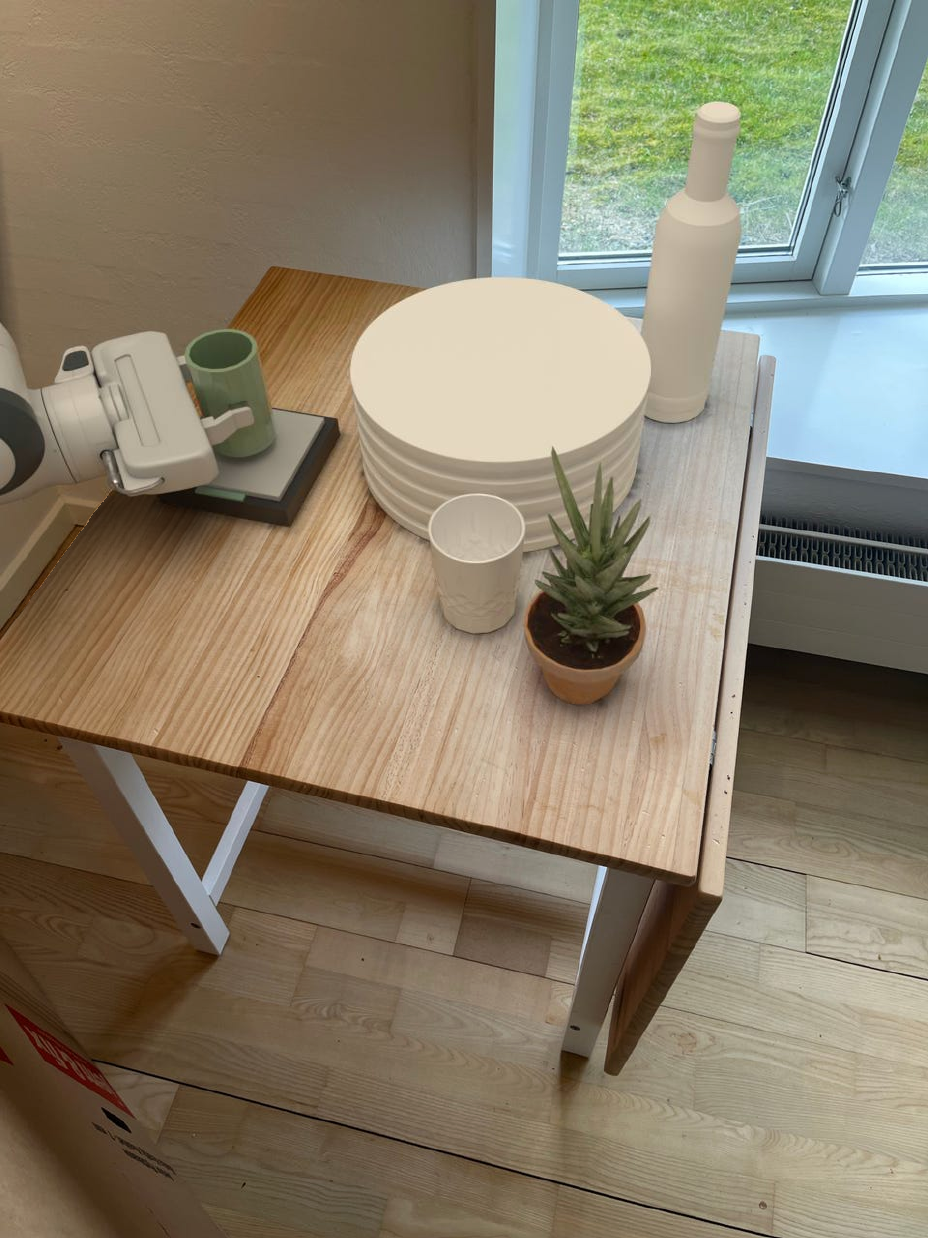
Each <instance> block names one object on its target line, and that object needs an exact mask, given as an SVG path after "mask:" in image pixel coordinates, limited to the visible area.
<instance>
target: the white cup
mask: <svg viewBox="0 0 928 1238" xmlns="http://www.w3.org/2000/svg"><path fill="white" fill-rule="evenodd" d="M428 533H429V540H430V541H429V540H428V541H429V546H430V554H431V559H432V568H433V573H434V579H435V585H436V590H437V594H438V598H439V605H440V609H441V612H442V615H443V617H444V619H445V620H446V621H447V622H448V623H449V624H450V625H452V626H453V627H454V628H455V629H457V630H458V631H462V632H467V633H470V634H484V633H485V634H488V633H491V632H494V631H496V630H497V629H500V628H502V627H505V625H506V624H507V623H508V622H509V621H510V620H511V618H512V617H513V616H514V615H515V610H516V605H517V596H518V591H519V590H520V589H519V588H520V581H521V580H520V579H521V572H522V566H523V555H524V552H523V545H524V535H525V523H524V519H523V517H522V515H521V513H520V512H519V510H518V509H517V508H516V507H515V506H514V505H512V504H511V503H510V502H508V501H506V500H505V499H502V498H500V497H497V496H494V495H489V494H480V493H475V494H466V495H461V496H458V497H455V498H452V499H450V500H448V501H446V502H445V503H443V504H442V505H441V506H439V507H438V508H437V509H436V511H435V512H434V513H433V515H432V516H431V518H430V521H429V525H428Z"/></svg>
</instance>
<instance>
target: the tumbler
mask: <svg viewBox="0 0 928 1238" xmlns="http://www.w3.org/2000/svg"><path fill="white" fill-rule="evenodd" d="M184 357H185V361H186V364H187V367H188V371H189V374H190V377H191V384H192V387H193V390H194V394H195V397H196V400H197V404H198V407H199V411H200V415H201V417H203V418H207V417H211V416H212V417H213V418H214V420H215V419H217V418H218V417H220V416H221V415H223V414H224V413H226V412H228V411H229V410H230V408H229V405H230V404H234V403H239V402H241V401H247V403H248V404H249V406H250V408H251V410H252V413H253V417H254V423H253V424H252V425H249V426H246V427H242V428H239V429H237V430H236V431H235V432H234V433H233V434H231V435H230V436H229V437H228V438H227V439H226V440H224V441H223V442H222V443H219V444H216V445H212V447H213V448H214V449H215V450H216V451H217V452H219V453H220V454H223V455H226V456H230V457H246V456H250V455H254V454H257V453H259V452H261V451H263V450H264V449H266V448H267V447H268V446H269V445H270V444H271V443H272V442H273V440H274V439H275V436H276V428H275V420H274V416H273V412H272V408H273V407H272V404H271V403H272V402H271V399H270V394H269V390H268V386H267V382H266V377H265V372H264V368H263V364H262V359H261V355H260V350H259V346H258V343H257V341H256V339H255V337H254V336H253V335H251V334H249V333H248V332H246V331H244V330H240V329H234V328H223V329H222V328H220V329H214V330H211V331H207V332H204V333H202V334H200V335H199V336H197V337H195V338H193V339H192V340H191V341H190V342H189V343H188V345H187V346H186V347H185V350H184Z"/></svg>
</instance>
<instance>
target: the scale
mask: <svg viewBox="0 0 928 1238" xmlns="http://www.w3.org/2000/svg"><path fill="white" fill-rule="evenodd" d="M272 412H273V416H274V420H275V428H276V436H275V439H274V440H273V442H272V443H271V444H270V445H269V446H268V447H267V448H266V449H264V450H263V451H261V452H259V453H257V454H254V455H250V456H246V457H230V456H226V455H223V454H220V453H219V452H217V451H216V450H215V449H214V448H213V447H212V446H211V447H212V450H213V453H214V456H215V459H216V463H217V466H218V470H219V474H218V475H217V476H216V477H215V478H214V479H213V480H212V481H211V482H210V483H208V484H205V485H201V486H197V487H193V488H189V489H184V490H179V491H174V492H168V493H161V494H156V496H157V499H158V502H159V503H161V504H162V503H163V504H168V505H173V506H177V507H184V508H188V509H193V510H199V511H204V512H208V513H209V512H210V513H214V514H218V515H219V514H221V515H225V516H230V517H235V518H236V517H237V518H241V519H246V520H251V521H256V522H260V523H261V522H262V523H267V524H271V525H277V526H283V527H288V528H290V527H291V526H292V524H293V522H294V520H295V518H296V516H297V515H298V512H299V511H300V510H301V507H302V505H303V504H304V502H305V500H306V498H307V496H308V495H309V493H310V491H311V489H312V487H313V485H314V483H315V482H316V480H317V478H318V476H319V474H320V472H321V471H322V469H323V467H324V465H325V463H326V462H327V460H328V458H329V456H330V454H331V452H332V451H333V448H334V447H335V445H336V443H337V442H338V439H339V438H340V436H341V431H340V424H339V420H338V418H337V417H332V416H325V415H320V414H313V413H307V412H301V411H296V410H290V409H283V408H278V407H272ZM200 419H203V417H202V416H201V417H200Z"/></svg>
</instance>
